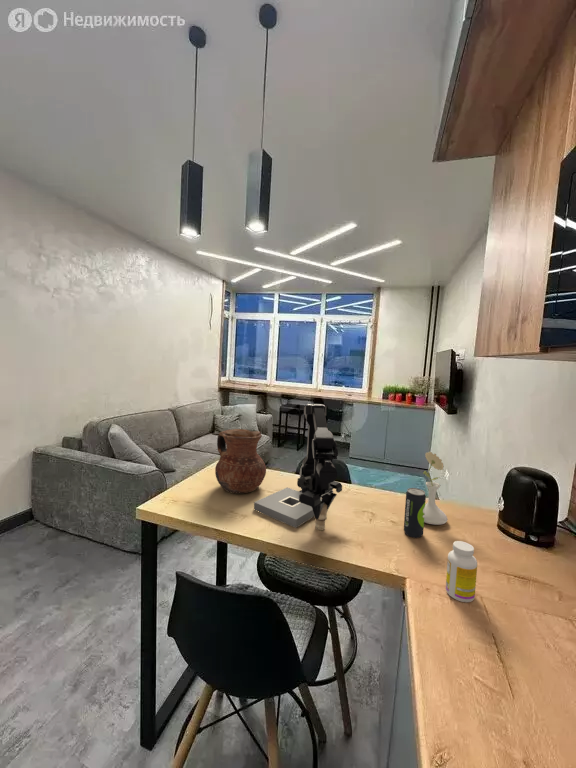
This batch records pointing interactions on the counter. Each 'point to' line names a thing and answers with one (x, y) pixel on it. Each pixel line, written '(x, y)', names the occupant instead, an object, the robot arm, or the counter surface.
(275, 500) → the socket board
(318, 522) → the birch peg
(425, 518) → the flower in vase
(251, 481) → the jug
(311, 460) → the robot arm
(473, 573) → the supplement bottle
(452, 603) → the counter surface
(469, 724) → the counter surface
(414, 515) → the beverage can
